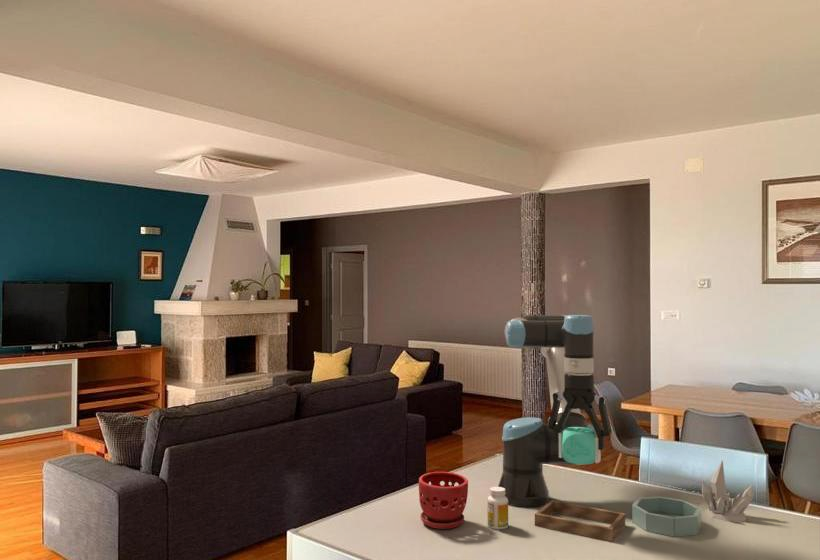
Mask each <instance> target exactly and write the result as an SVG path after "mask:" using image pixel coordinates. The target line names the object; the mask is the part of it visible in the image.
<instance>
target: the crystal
mask: <svg viewBox="0 0 820 560" xmlns="http://www.w3.org/2000/svg"><path fill="white" fill-rule="evenodd" d="M725 477H726V476H725V471H724V461H723V460H721V461H720V463H719V465H718V466H717V469H716V471H715V472H714V474H713V476H712V478H711V480H710V485H711V486H710V487H711V488H710V487H709V485H708V484H706V483H705V481H704V480H702V487H701V495H702V497H701V498H703V501H705V503H706V505H707V507H708V508H707V510H706V515H708V516H709V517H711V518H713V519H716V520H719V521H722V522H723V521H724V522H734V523H741V522H744V521H747V516H746V514H745V513H744V512H745V511H746V510H747V508H748V507H749V505H750V504H751V502H752V500H753V499H754V497H755V495H754V488H753V486H754V485H753V484H751V485H750V486H749V487H748V488H746V489H745V490H744V491H743V494H742V495H741V493H738V494H737V495H735V496H734V497H733V498H731V497H730V492H728V493H727V486H726V479H725Z"/></svg>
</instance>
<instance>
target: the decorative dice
mask: <svg viewBox="0 0 820 560" xmlns="http://www.w3.org/2000/svg"><path fill="white" fill-rule="evenodd" d="M596 436H597V434H596V431H595V429H594V430H593V429H590V428H585V427H568V428H565V429H564V431H563V439H562V453H563V459H564V460H565V461H567V462H569V463H573V464H586V465H590V464H594V463H595V437H596Z"/></svg>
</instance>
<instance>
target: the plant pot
mask: <svg viewBox="0 0 820 560" xmlns="http://www.w3.org/2000/svg"><path fill="white" fill-rule="evenodd" d="M442 482H444V483H443V485H442V484H441V483H442ZM449 483H451V485H450V484H449ZM456 483H457V484H458V485H456ZM468 492H469V480H468V478H467V477H465V476H464V475H462V474H459V473H454V472H449V471H433V472H427V473H424V474H423V475H421V476H420V477H419V478H418V497H419V505H420V507H421V510H422V512H421V513H420V514H419V515H420V517H419V518H420V520H421V522H422V523H424V524H423V525H425V526H428V527H430V528H433V529H439V530H448V529H453V528H457V527H459V526H461V525H462V524H463V523H464V520H465V515H464V514H463V513H464V511H465V509H466V505H467V500H468Z"/></svg>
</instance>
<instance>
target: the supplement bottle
mask: <svg viewBox="0 0 820 560" xmlns="http://www.w3.org/2000/svg"><path fill="white" fill-rule="evenodd" d="M489 494H490V495H489V496H488V497H487V527H489V528H491V529H494V530H504V529H508V527H509V504H508V499H507V497H505V496H504V495H505V488H503V487H498V486H492V487H490V488H489Z"/></svg>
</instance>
